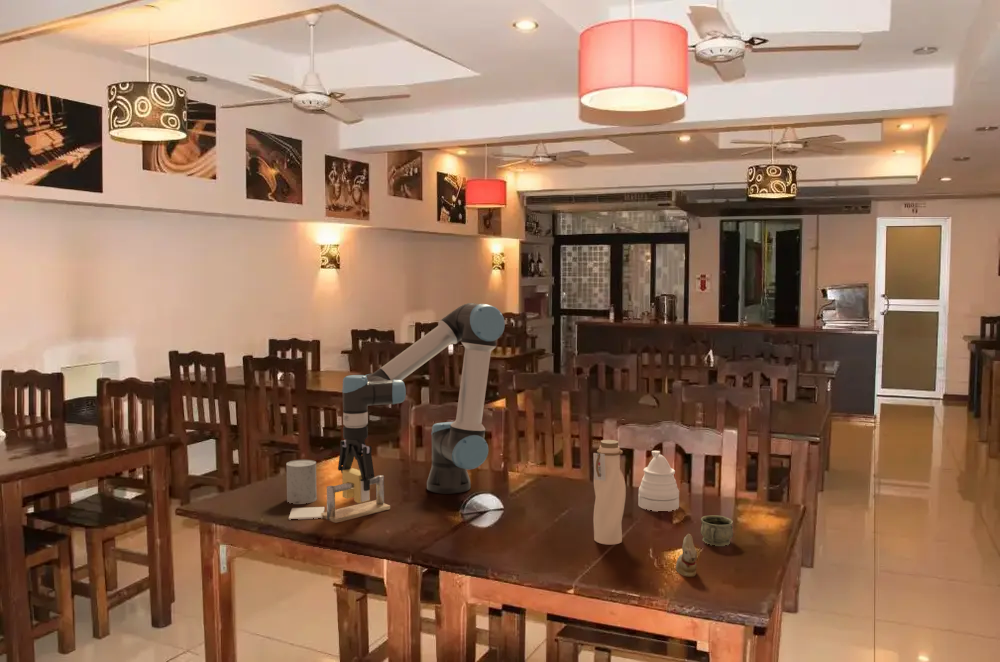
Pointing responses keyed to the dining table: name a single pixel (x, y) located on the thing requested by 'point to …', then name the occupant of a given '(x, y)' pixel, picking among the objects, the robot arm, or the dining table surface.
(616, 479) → the water bottle
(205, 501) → the dining table surface
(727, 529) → the vessel
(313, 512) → the coaster
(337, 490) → the rail stand
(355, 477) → the c link
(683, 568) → the chocolate bunny
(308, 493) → the grey speckled cylinder
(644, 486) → the honey pot
